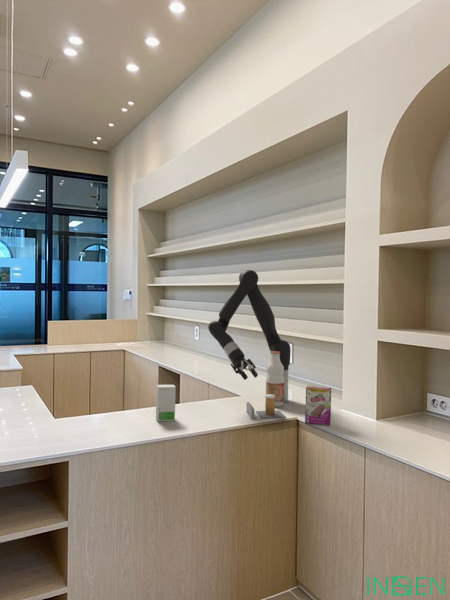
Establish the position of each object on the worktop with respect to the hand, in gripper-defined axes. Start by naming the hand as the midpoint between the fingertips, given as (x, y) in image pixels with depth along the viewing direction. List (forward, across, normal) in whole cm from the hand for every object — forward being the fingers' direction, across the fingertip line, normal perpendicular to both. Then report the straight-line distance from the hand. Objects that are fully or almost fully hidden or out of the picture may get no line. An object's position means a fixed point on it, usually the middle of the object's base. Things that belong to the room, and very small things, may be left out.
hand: (251, 377), depth 221 cm
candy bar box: (+37, +2, -13) cm, 39 cm away
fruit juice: (+13, +18, +10) cm, 25 cm away
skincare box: (-2, -39, +26) cm, 47 cm away
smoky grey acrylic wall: (+15, -8, +8) cm, 19 cm away
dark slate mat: (+20, 0, +4) cm, 20 cm away
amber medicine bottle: (+19, 0, +3) cm, 20 cm away
